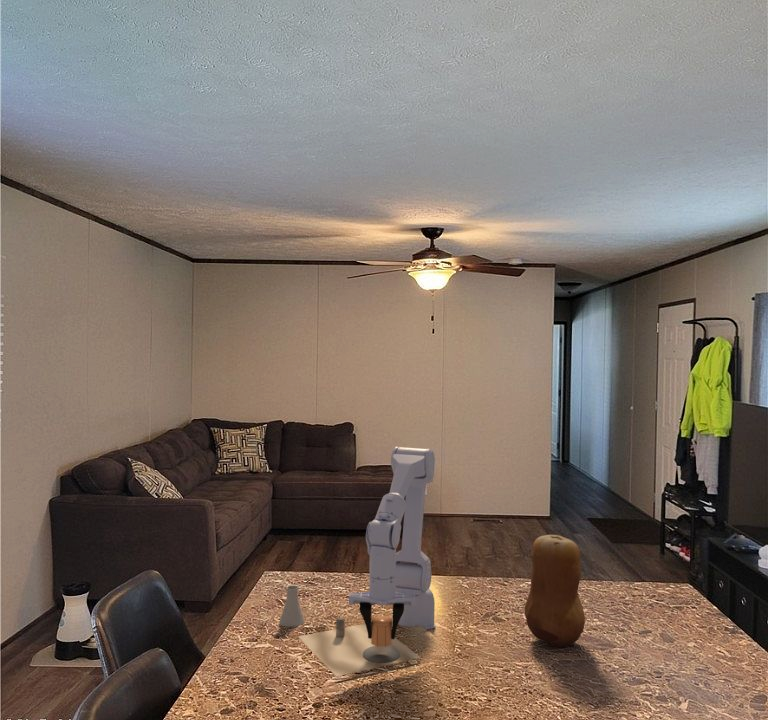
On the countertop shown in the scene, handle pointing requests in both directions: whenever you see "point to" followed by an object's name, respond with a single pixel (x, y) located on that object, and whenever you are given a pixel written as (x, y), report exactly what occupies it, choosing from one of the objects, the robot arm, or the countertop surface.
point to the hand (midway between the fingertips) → (381, 637)
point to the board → (354, 650)
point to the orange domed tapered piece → (381, 631)
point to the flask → (292, 609)
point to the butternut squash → (555, 591)
